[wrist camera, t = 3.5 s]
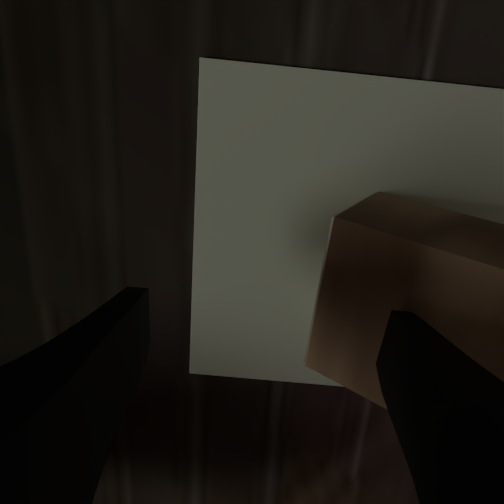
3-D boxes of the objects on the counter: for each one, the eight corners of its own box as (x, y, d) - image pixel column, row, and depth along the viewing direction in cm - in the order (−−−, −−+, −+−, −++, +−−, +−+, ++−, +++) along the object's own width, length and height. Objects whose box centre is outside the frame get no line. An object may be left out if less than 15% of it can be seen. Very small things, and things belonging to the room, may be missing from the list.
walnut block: (302, 364, 15) (511, 476, 12) (331, 215, 12) (612, 303, 9) (345, 318, 18) (522, 396, 15) (376, 190, 15) (600, 249, 12)
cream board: (189, 370, 20) (189, 373, 20) (200, 57, 14) (199, 57, 14) (545, 400, 20) (548, 403, 20) (709, 110, 14) (716, 111, 14)
